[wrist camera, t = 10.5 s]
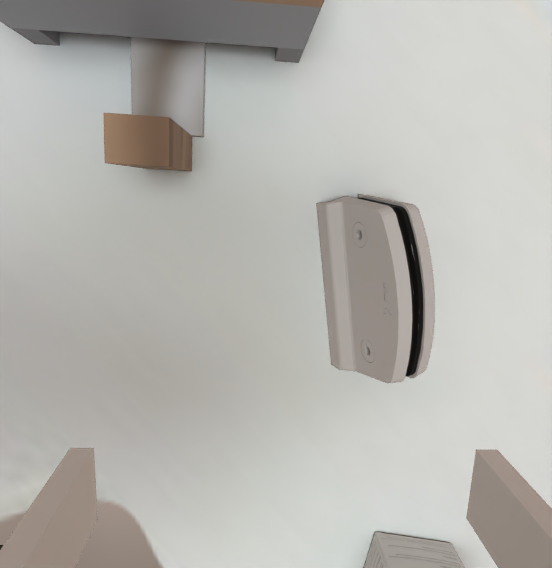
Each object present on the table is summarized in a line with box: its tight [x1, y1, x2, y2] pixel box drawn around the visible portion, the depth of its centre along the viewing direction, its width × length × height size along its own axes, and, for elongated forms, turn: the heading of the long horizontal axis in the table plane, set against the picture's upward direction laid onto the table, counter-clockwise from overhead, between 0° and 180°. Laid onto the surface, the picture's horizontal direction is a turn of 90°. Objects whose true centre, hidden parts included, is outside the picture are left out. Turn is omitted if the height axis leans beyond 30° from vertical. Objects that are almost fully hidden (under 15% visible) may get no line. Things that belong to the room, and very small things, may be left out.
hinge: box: [317, 194, 435, 383], centre depth 40 cm, size 17×5×10 cm, turn 6°
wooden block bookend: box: [104, 37, 205, 171], centre depth 33 cm, size 6×20×12 cm, turn 177°
